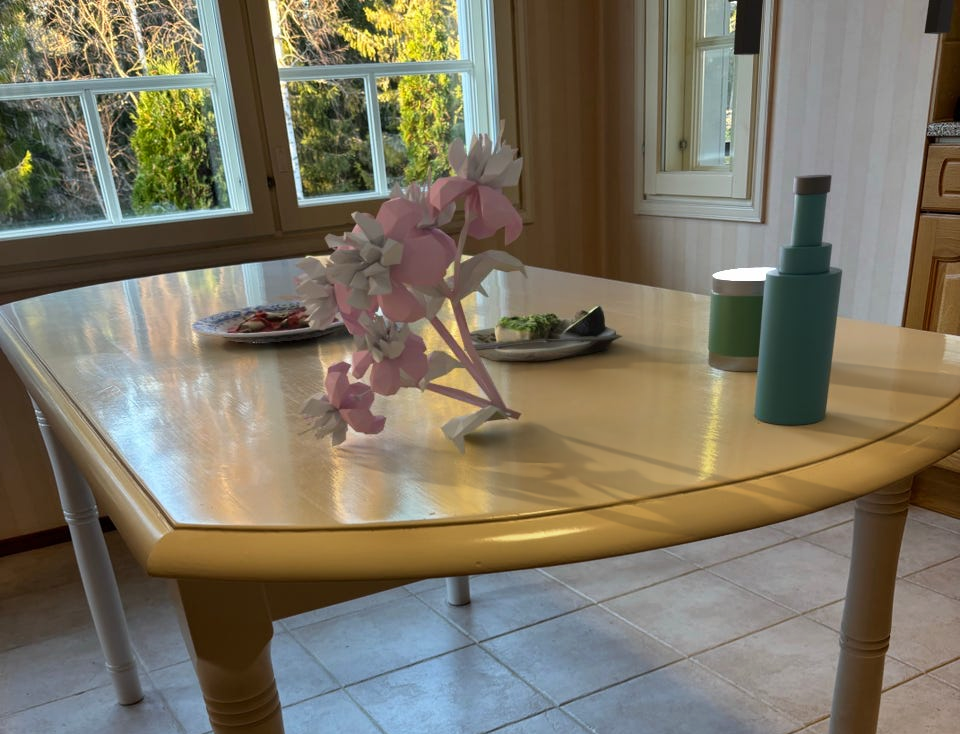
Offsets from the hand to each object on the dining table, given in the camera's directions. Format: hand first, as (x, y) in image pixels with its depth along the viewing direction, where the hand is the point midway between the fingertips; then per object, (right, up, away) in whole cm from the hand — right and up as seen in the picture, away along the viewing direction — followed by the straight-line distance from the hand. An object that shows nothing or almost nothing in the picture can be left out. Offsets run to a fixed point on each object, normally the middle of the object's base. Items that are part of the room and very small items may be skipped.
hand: (835, 45), depth 66 cm
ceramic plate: (-54, +2, +69) cm, 87 cm away
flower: (-32, -25, +17) cm, 44 cm away
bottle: (+2, -22, +16) cm, 28 cm away
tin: (+4, -12, +35) cm, 37 cm away
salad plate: (-17, -6, +48) cm, 51 cm away
